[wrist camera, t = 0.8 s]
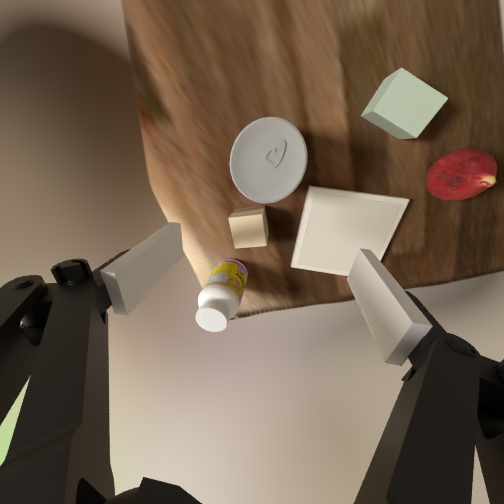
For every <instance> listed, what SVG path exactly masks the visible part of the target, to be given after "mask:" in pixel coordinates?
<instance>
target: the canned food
mask: <svg viewBox="0 0 504 504" xmlns="http://www.w3.org/2000/svg"><path fill="white" fill-rule="evenodd" d="M306 166H307V148H306V144H305V141H304V138H303V136H302V135H301V133H300V131H299V130H298V129H297V128H296V127H295V126H294V125H293V124H292V123H290V122H288V121H287V120H284V119H281V118H278V117H266V118H261V119H259V120H256V121H254V122H252V123H251V124H249V125H248V126H246V127H245V128H244V130H243V131H242V132H241V133H240V134H239V136H238V137H237V139H236V140H235V143H234V145H233V147H232V151H231V155H230V171H231V175H232V179H233V181H234V183H235V185H236V187H237V188H238V190H239V191H240V192H241V193H242V194H243V195H244V196H245V197H247V198H249V199H250V200H252V201H255V202H258V203H273V202H277V201H280V200H282V199H284V198H286V197H287V196H288V195H290V194H291V193H292V192H293V191H294V190H295V189H296V188H297V186H298V185H299V183H300V182H301V180H302V178H303V176H304V173H305V170H306Z"/></svg>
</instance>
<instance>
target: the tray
mask: <svg viewBox="0 0 504 504" xmlns="http://www.w3.org/2000/svg"><path fill="white" fill-rule="evenodd" d="M409 200H410V199H407V198H404V197H396V196H388V195H380V194H373V193H365V192H357V191H349V190H341V189H333V188H325V187H318V186H310V185H309V187H308V191H307V196H306V200H305V205H304V209H303V213H302V218H301V222H300V226H299V231H298V235H297V240H296V244H295V248H294V253H293V257H292V262H291V267H295V268H301V269H307V270H313V271H320V272H326V273H332V274H339V275H345V276H348V275H349V273H350V271H351V268H352V266H353V263H354V261H355V258H356V256H357V253H358V251H359V248H361V249H368V250H371V251H372V252H373V253H374V254H375V256H376V257H377V258H378V259H379V261H381V259H382V257H383V254H384V252H385V250H386V248H387V246H388V244H389V242H390V240H391V238H392V236H393V233H394V231H395V229H396V227H397V225H398V223H399V221H400V219H401V217H402V215H403V213H404V210H405V208H406V206H407V204H408V202H409Z"/></svg>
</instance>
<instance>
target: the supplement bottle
mask: <svg viewBox="0 0 504 504" xmlns="http://www.w3.org/2000/svg"><path fill="white" fill-rule="evenodd" d="M247 277H248V273H247V270H246V268H245V266H244V265H243V264H242V263H241V262H239V261H237V260H234V259H225V260H222V261H220V262H219V263H218V264H217V265H216V267H215V269H214V270H213V272H212V274H211V276H210V277H209V279H208V281H207V282H206V284H205V286H204V288H203V289H202V291H201V293H200V295H199V298H198V305H199V309H198V312H197V314H196V321H197V323H198V324H199V325H200V326H201V327H202V328H203V329H205V330H207V331H210V332H219V331H222V330H224V329H225V328H226V326H227V324H228V321H229V319H231V318H232V317H234V316H235V315H236V313H237V312H238V309H239V306H240V302H241V299H242V295H243V292H244V288H245V285H246V281H247Z"/></svg>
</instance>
